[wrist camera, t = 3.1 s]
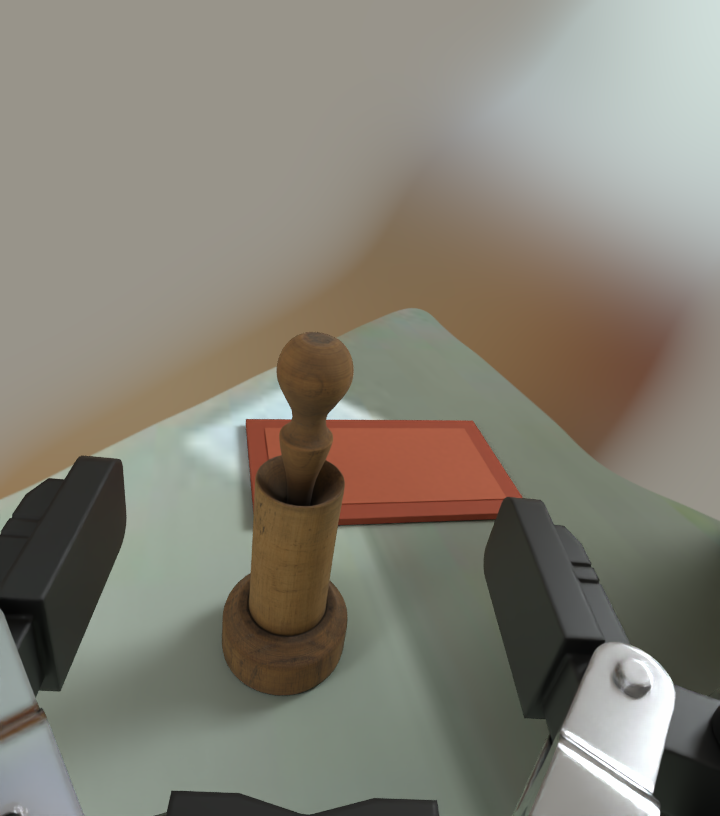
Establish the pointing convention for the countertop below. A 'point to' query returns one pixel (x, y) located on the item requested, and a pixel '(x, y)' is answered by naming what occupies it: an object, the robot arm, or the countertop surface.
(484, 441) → the tray
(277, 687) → the mortar and pestle
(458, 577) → the countertop surface
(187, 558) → the countertop surface
